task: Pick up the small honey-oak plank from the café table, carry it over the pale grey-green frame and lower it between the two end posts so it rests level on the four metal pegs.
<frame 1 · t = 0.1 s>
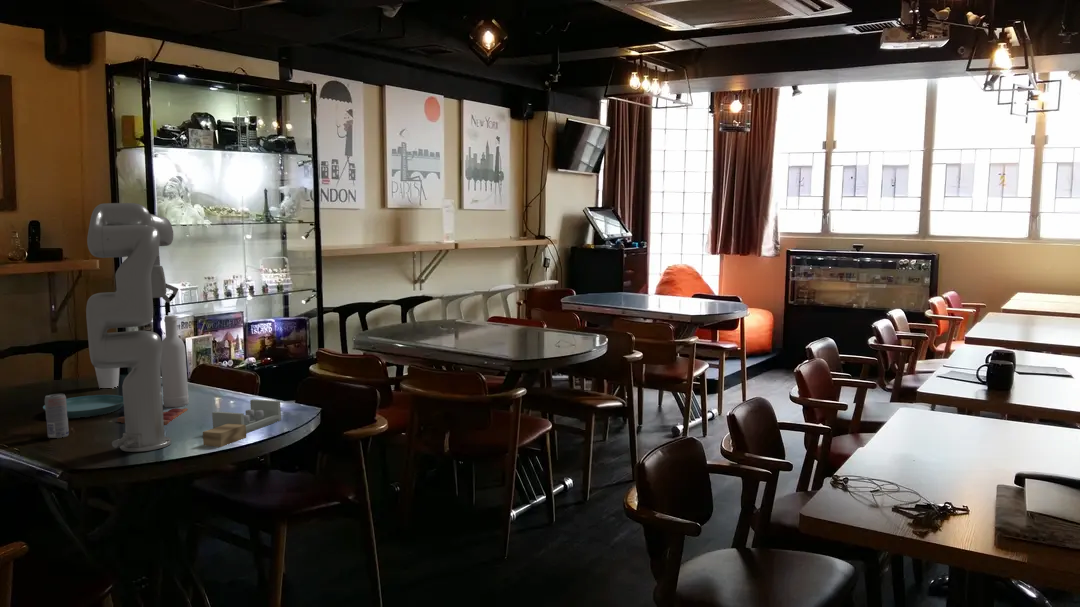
hand: (150, 316, 271), 31 cm above the table, tool pointing down, fingers open, 9 cm apart
saucer: (86, 412, 278), on the table
peg frame: (248, 426, 252), on the table
energy drink: (58, 437, 245), on the table
foam cup: (108, 387, 319), on the table
oak plank: (225, 442, 235), on the table
bottle: (176, 405, 285), on the table
billiard ball rack: (164, 419, 268), on the table
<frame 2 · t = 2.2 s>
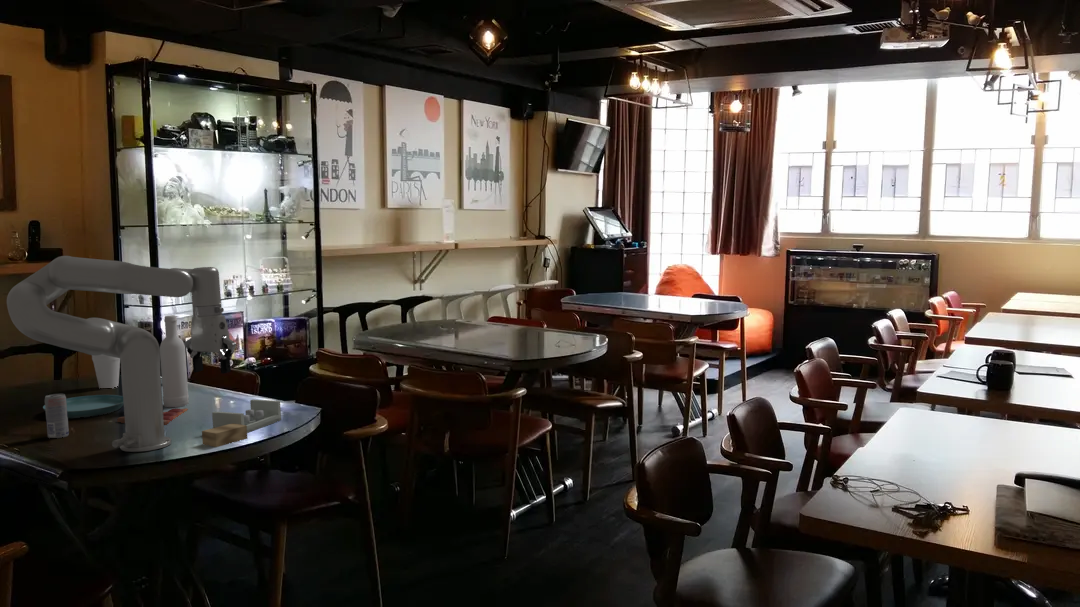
hand: (212, 372, 239), 18 cm above the table, tool pointing down, fingers open, 9 cm apart
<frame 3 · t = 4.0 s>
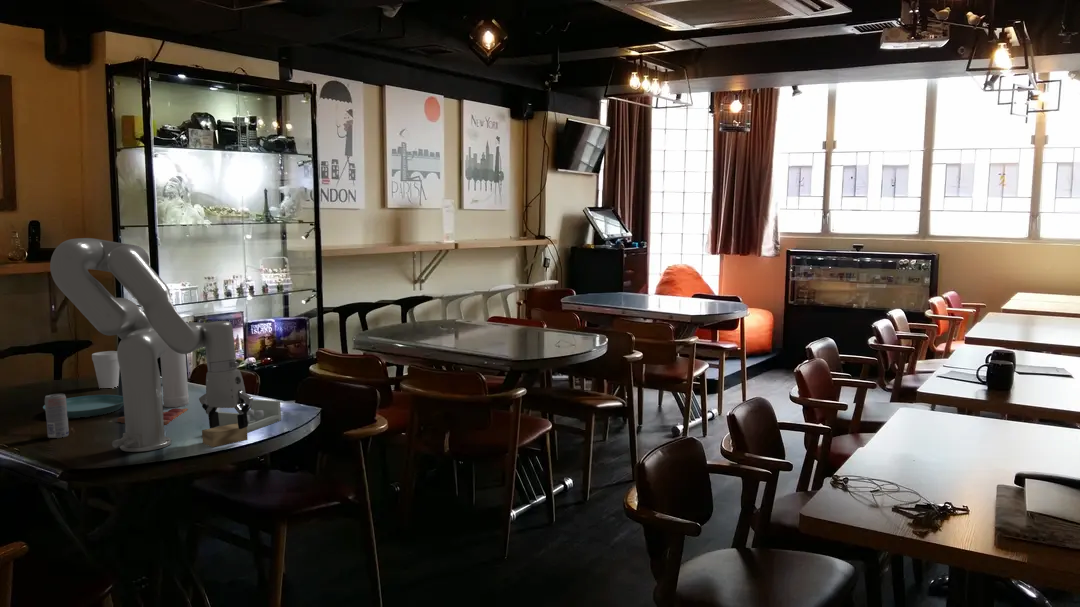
hand: (228, 427, 235), 4 cm above the table, tool pointing down, fingers open, 9 cm apart
oak plank: (225, 442, 235), on the table, touching gripper
everything else where it was.
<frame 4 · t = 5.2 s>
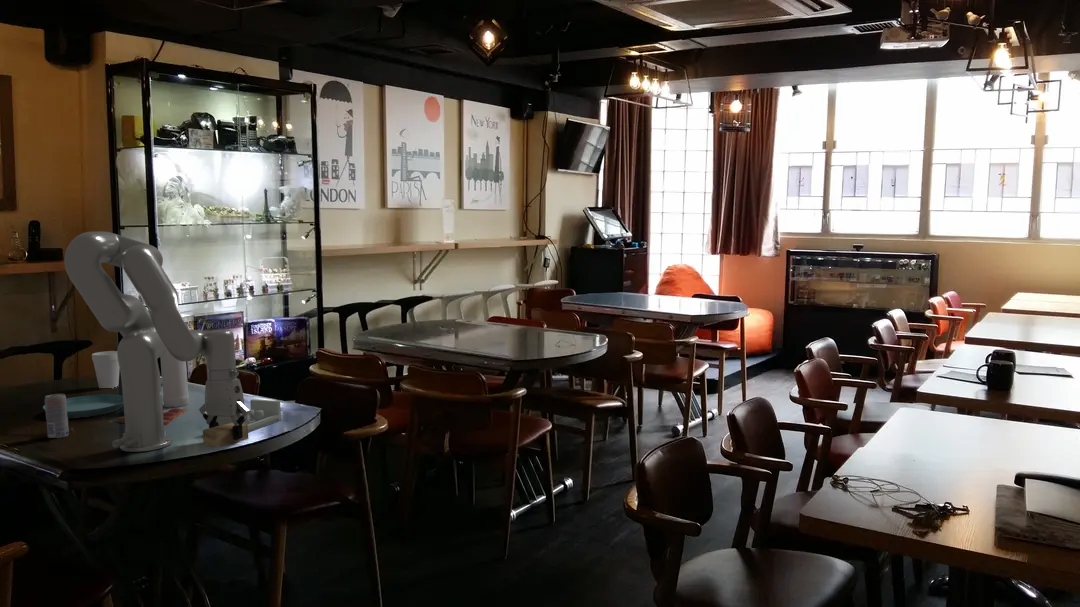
hand: (226, 437, 235), 1 cm above the table, tool pointing down, fingers closed on oak plank, 7 cm apart
oak plank: (226, 441, 235), on the table, touching gripper
everything else where it was.
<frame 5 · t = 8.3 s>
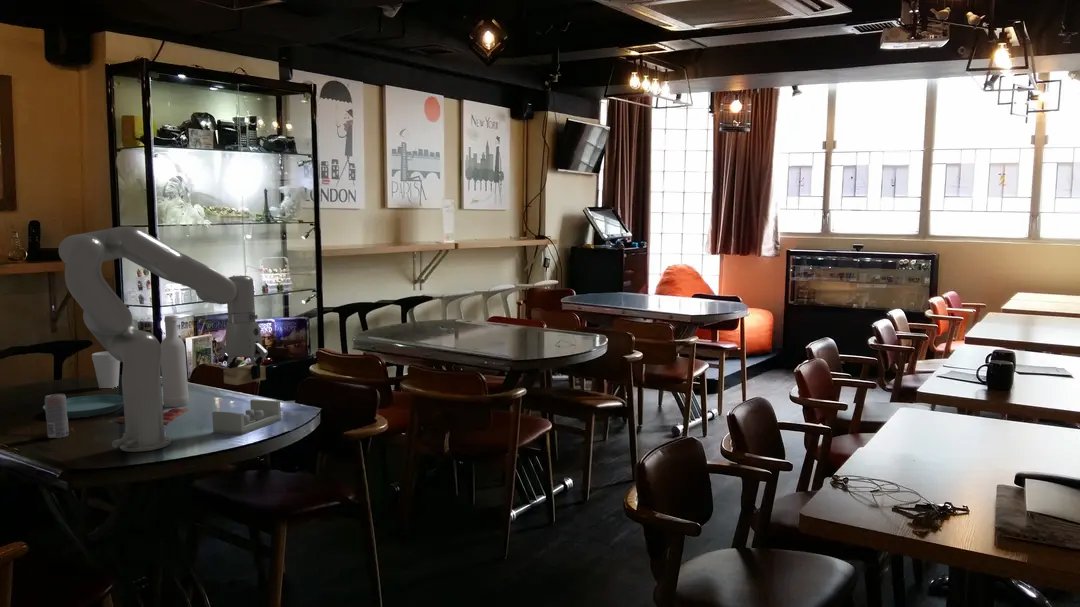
hand: (245, 377, 251), 15 cm above the table, tool pointing down, fingers closed on oak plank, 7 cm apart
oak plank: (245, 381, 251), point 14 cm above the table, touching gripper
everything else where it was.
when the fingers open (6 cm above the table, at t = 11.3 s): oak plank stays where it is, resting on peg frame.
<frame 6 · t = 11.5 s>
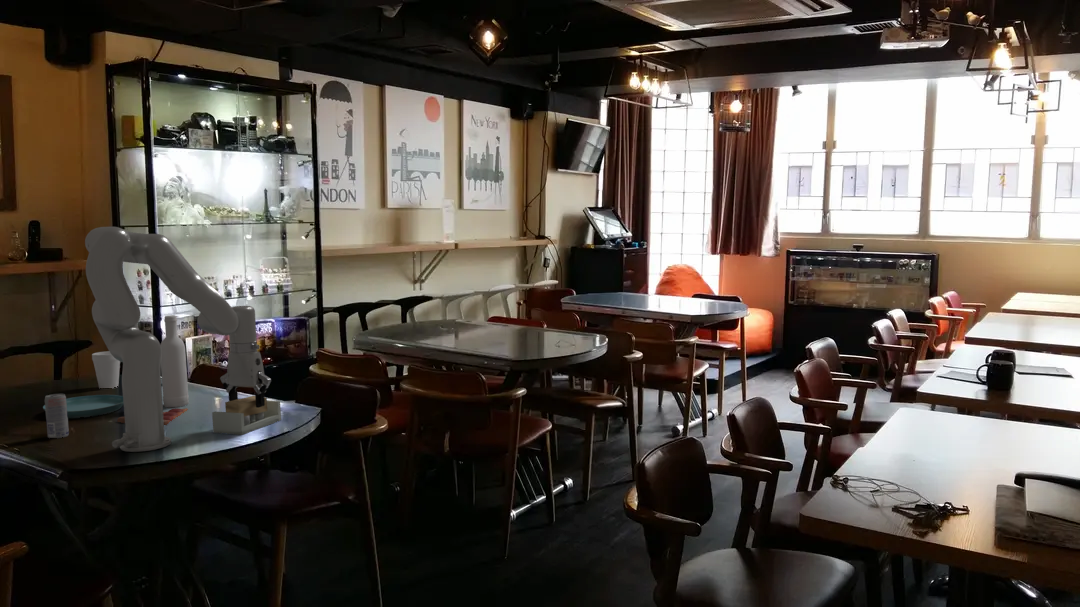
hand: (246, 405, 251), 6 cm above the table, tool pointing down, fingers open, 9 cm apart
oak plank: (246, 413, 252), point 4 cm above the table, touching peg frame
everything else where it was.
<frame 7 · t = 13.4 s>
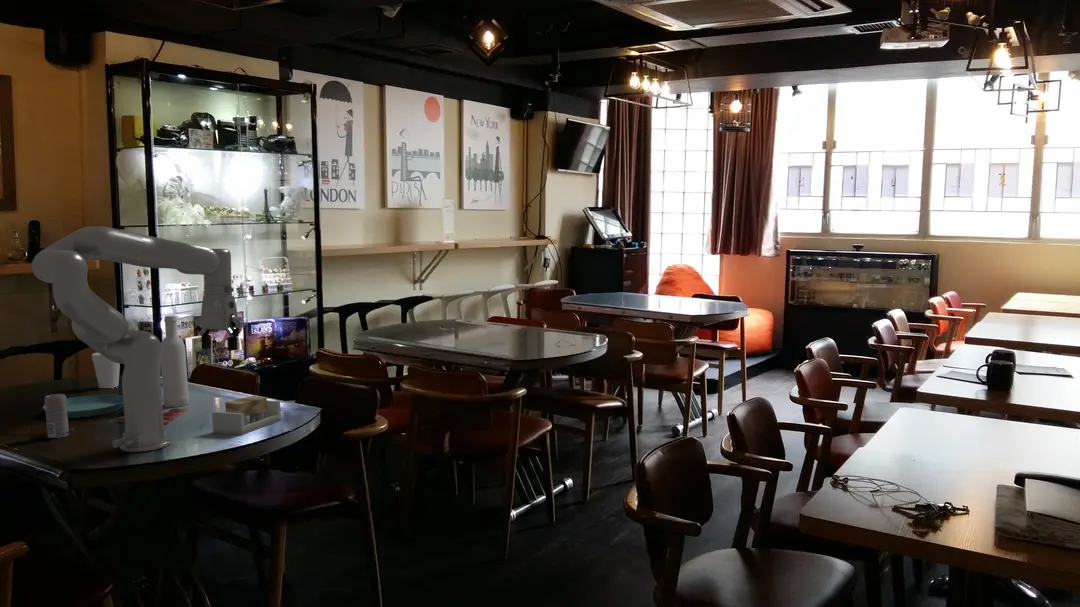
hand: (219, 349, 249), 23 cm above the table, tool pointing down, fingers open, 9 cm apart
nothing on the table moved.
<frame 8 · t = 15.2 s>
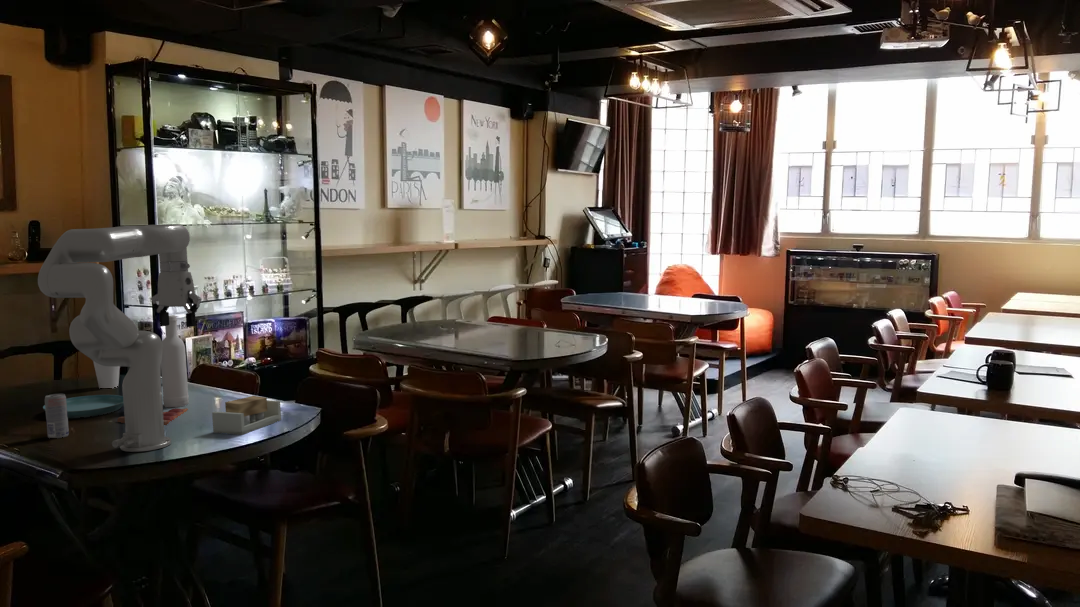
hand: (177, 326, 249), 30 cm above the table, tool pointing down, fingers open, 9 cm apart
nothing on the table moved.
at the end: oak plank 0.1 cm off-centre on the peg frame, point 4.0 cm above the peg frame's base; oak plank tilted 0°; the gripper is holding nothing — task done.
